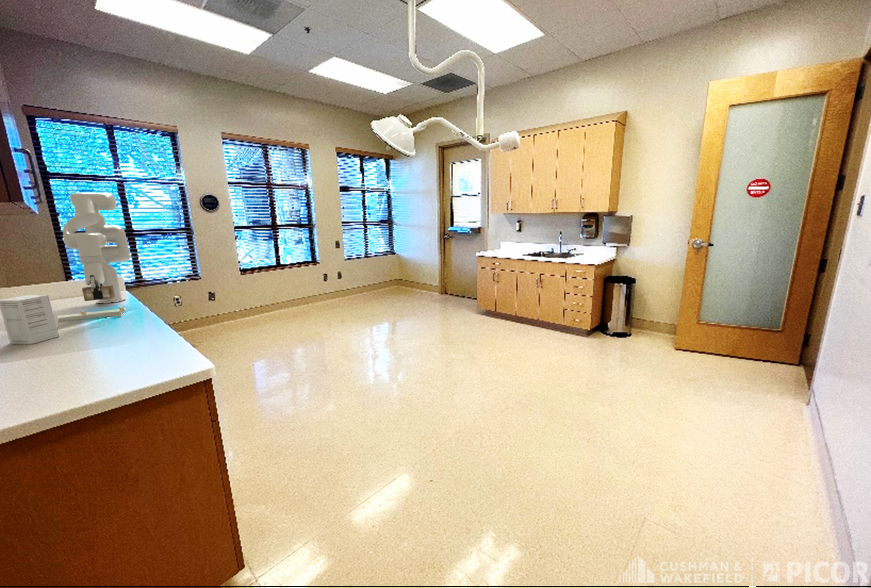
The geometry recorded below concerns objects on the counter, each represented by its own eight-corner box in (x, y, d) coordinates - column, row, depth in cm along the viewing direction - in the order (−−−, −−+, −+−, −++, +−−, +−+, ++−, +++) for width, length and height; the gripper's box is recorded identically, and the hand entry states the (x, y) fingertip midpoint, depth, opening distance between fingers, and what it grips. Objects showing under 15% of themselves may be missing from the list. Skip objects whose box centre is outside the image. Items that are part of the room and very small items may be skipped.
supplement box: (60, 336, 137) (49, 294, 134) (31, 344, 128) (19, 300, 125) (38, 336, 138) (28, 294, 135) (9, 344, 129) (-4, 299, 126)
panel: (51, 319, 163) (50, 312, 163) (127, 310, 178) (126, 304, 177) (40, 326, 152) (38, 319, 151) (122, 316, 166) (120, 310, 165)
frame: (87, 299, 165) (84, 287, 164) (115, 296, 170) (112, 284, 169) (84, 301, 162) (81, 288, 160) (113, 298, 167) (110, 286, 166)
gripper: (86, 259, 167) (94, 296, 171) (74, 262, 153) (84, 302, 157) (106, 258, 171) (114, 294, 175) (97, 260, 157) (106, 300, 161)
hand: (100, 297), depth 166 cm, fingers closed on frame, 4 cm apart
